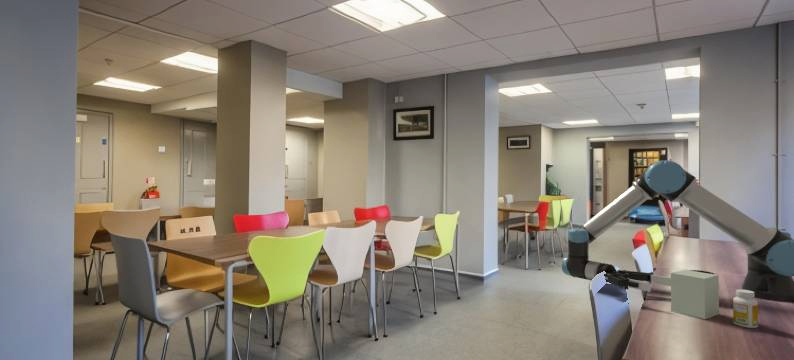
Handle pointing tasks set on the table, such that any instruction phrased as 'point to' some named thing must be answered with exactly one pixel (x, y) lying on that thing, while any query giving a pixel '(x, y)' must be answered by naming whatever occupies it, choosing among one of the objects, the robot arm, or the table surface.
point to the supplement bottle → (745, 309)
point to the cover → (695, 293)
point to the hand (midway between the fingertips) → (661, 284)
